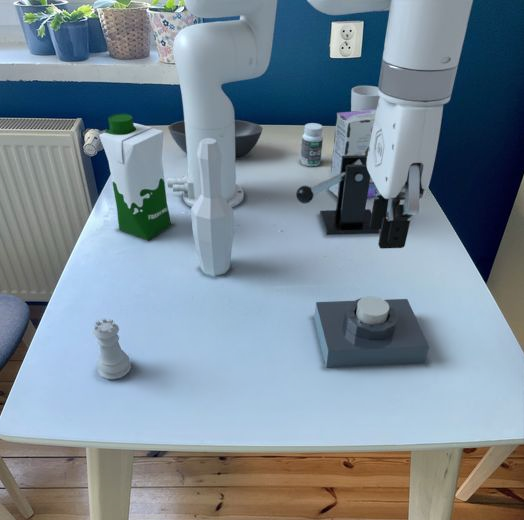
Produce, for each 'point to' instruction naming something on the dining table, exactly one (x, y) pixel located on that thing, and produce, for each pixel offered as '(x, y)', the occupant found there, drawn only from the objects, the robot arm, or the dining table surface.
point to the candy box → (352, 141)
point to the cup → (364, 98)
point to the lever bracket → (350, 201)
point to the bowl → (244, 136)
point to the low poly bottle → (212, 213)
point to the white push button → (372, 310)
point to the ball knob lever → (320, 186)
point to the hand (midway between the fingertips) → (386, 236)
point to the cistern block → (369, 336)
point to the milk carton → (137, 176)
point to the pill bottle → (312, 145)
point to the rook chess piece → (110, 351)
